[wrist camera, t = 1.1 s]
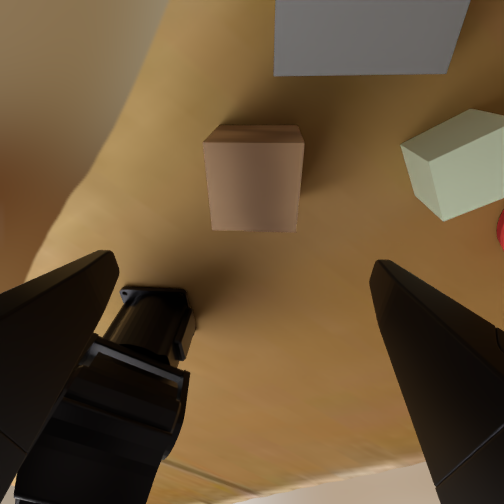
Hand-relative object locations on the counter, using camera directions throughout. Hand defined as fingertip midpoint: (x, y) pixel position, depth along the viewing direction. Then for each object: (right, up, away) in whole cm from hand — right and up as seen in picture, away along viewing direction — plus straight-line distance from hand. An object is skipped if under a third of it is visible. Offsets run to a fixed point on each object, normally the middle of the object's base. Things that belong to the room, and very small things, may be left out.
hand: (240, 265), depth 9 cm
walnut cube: (+1, +7, +9) cm, 12 cm away
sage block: (+13, +7, +8) cm, 17 cm away
